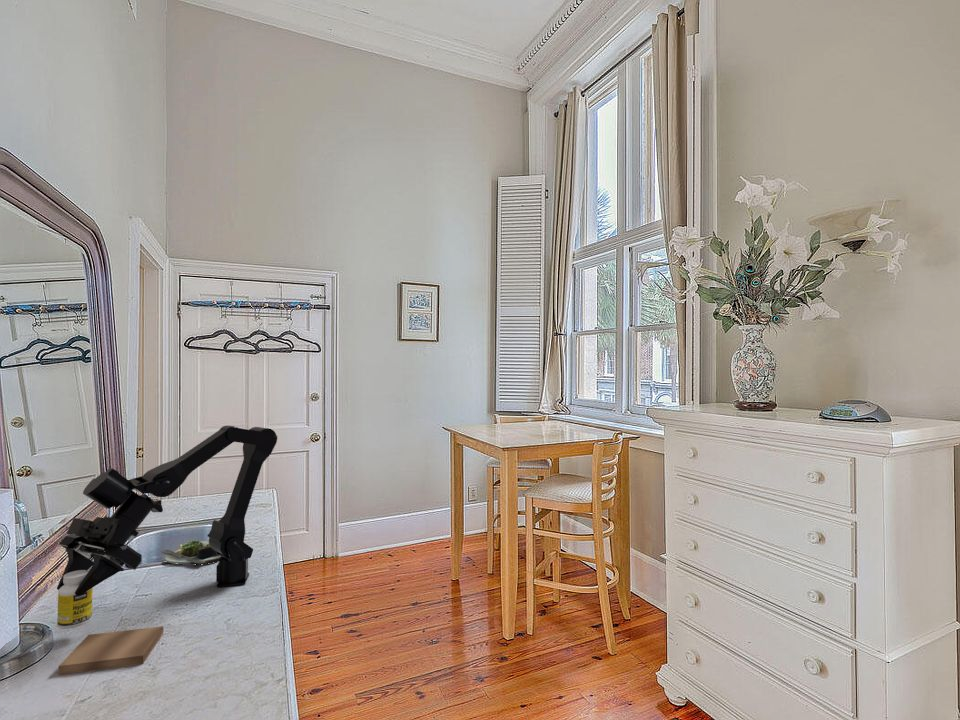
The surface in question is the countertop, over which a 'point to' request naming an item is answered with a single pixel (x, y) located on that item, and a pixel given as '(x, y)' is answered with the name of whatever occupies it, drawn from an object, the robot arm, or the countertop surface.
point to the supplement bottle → (73, 602)
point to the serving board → (112, 650)
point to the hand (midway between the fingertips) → (67, 592)
